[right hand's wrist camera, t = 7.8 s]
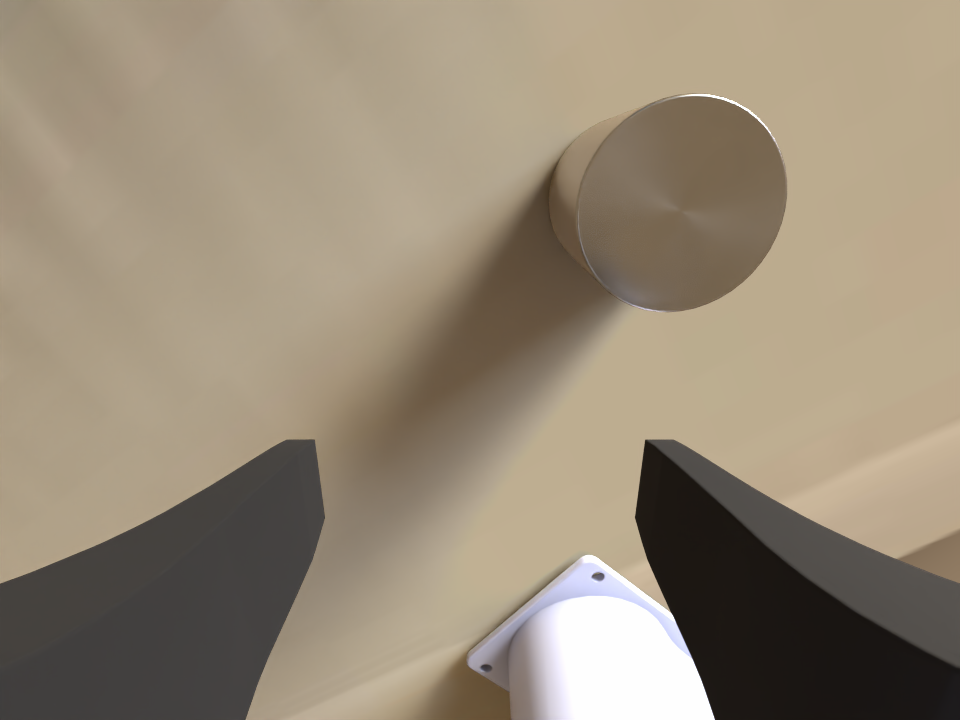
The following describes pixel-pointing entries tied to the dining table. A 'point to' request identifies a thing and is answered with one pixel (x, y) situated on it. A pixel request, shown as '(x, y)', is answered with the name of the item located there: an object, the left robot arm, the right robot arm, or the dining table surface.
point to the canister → (671, 200)
